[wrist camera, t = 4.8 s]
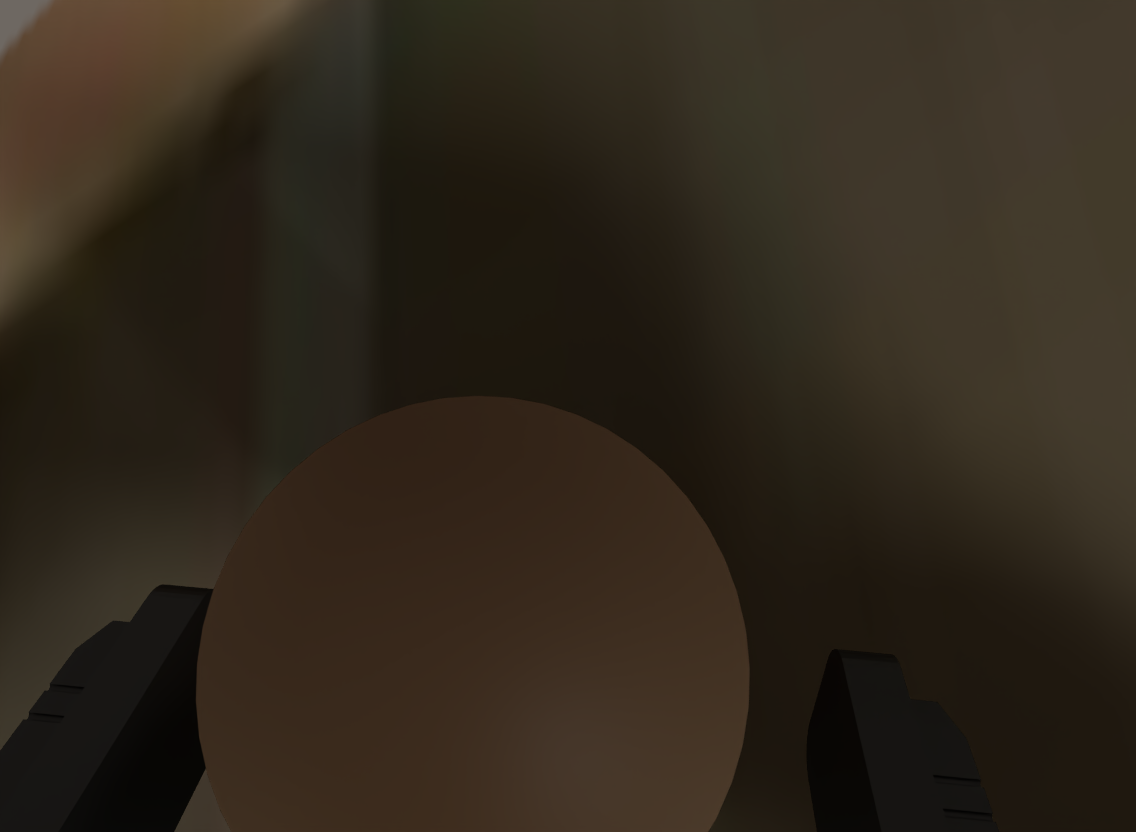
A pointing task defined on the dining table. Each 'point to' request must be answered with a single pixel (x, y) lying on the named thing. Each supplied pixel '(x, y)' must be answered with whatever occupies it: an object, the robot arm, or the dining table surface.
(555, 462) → the long pin
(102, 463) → the dining table surface
